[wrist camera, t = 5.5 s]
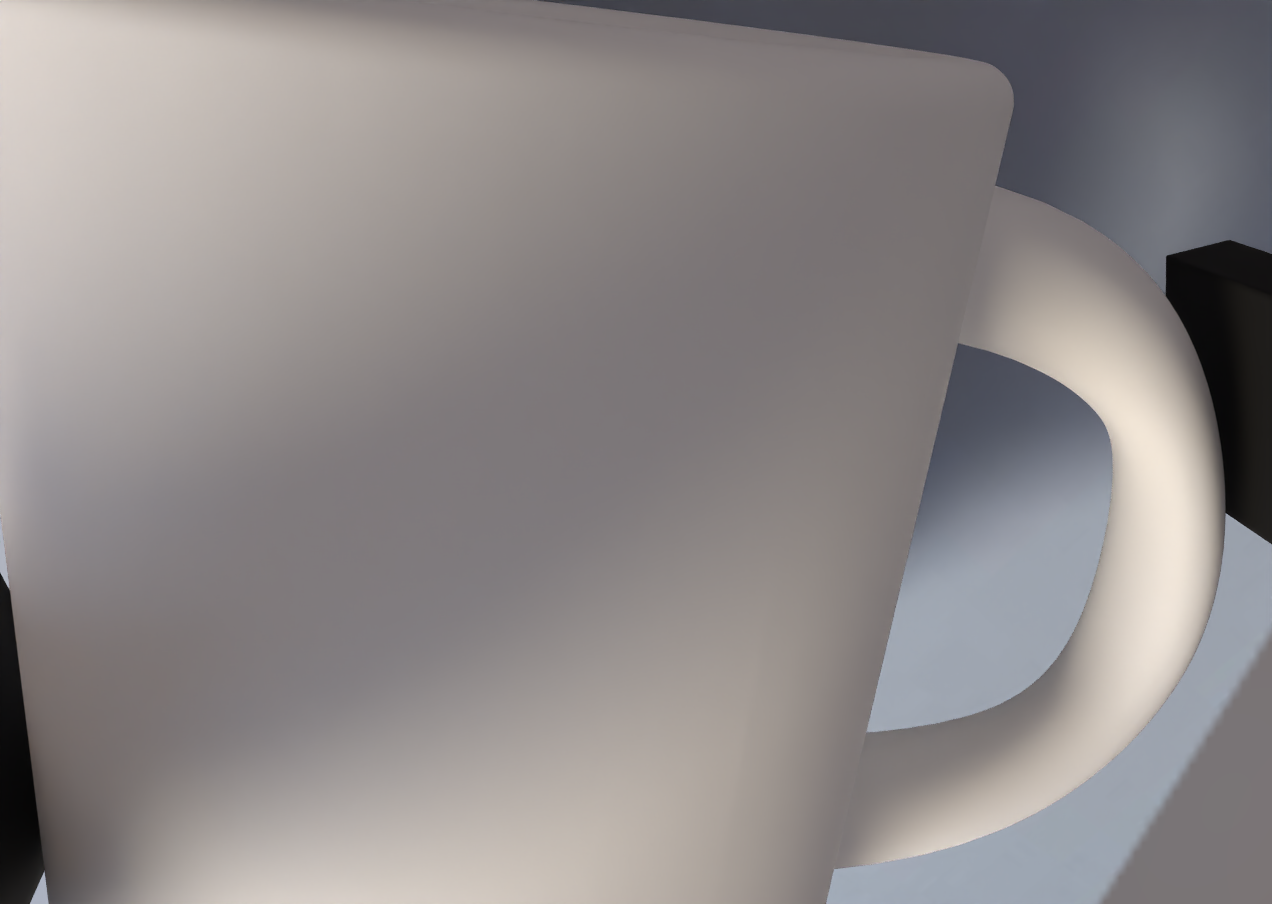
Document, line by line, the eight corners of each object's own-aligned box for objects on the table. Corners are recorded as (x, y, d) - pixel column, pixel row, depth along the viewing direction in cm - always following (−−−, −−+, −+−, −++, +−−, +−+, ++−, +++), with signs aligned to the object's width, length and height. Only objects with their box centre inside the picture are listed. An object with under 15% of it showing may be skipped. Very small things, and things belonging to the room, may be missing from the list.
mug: (169, 716, 15) (-77, 1363, 8) (122, -50, 12) (-418, -92, 4) (951, 715, 18) (1297, 1225, 10) (1126, 70, 14) (1859, 174, 7)
